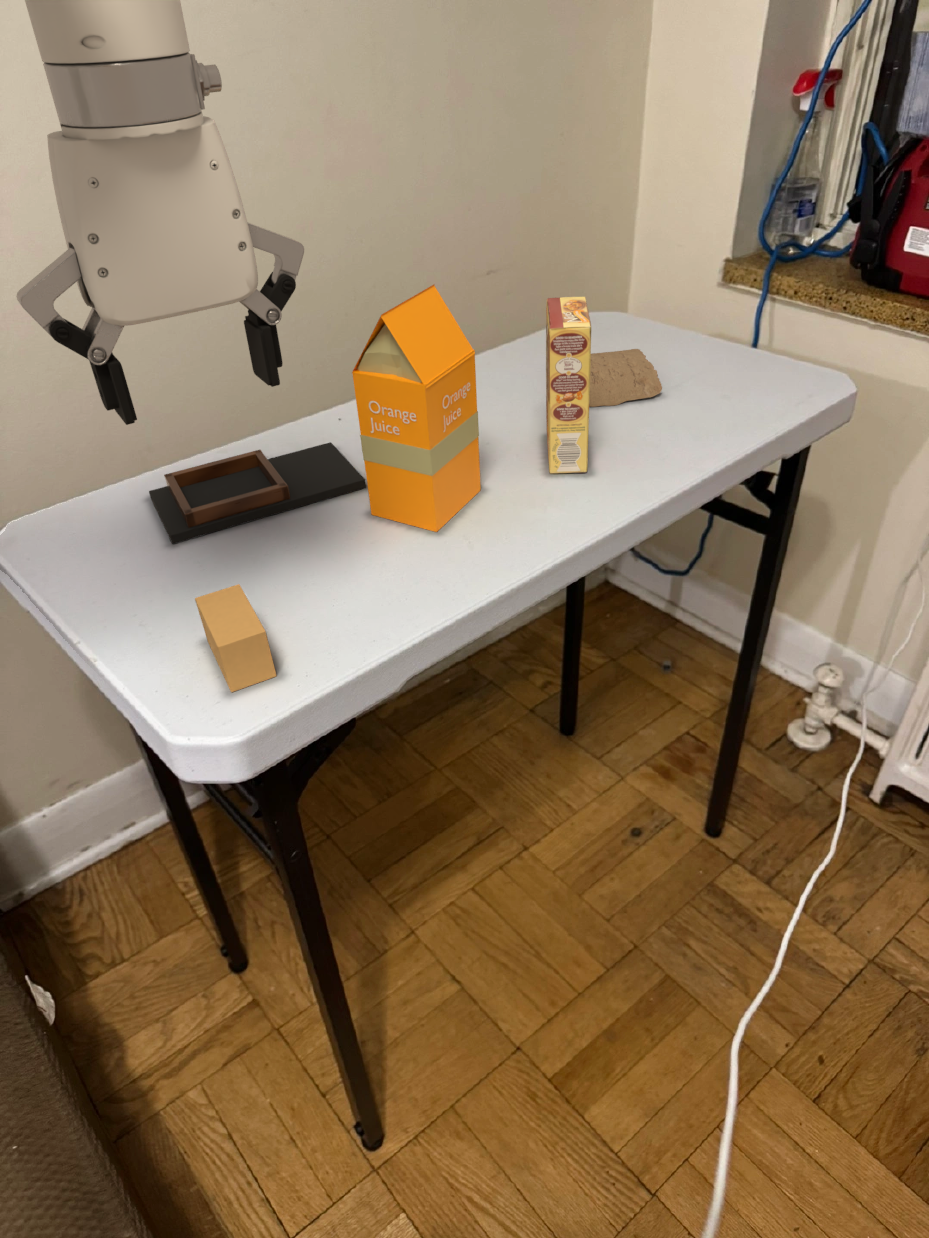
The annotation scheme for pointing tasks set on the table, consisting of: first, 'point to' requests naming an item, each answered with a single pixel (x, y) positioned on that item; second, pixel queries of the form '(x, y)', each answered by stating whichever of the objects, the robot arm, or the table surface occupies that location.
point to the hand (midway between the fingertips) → (199, 397)
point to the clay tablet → (621, 378)
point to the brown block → (236, 637)
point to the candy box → (567, 383)
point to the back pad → (250, 489)
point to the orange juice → (418, 414)
